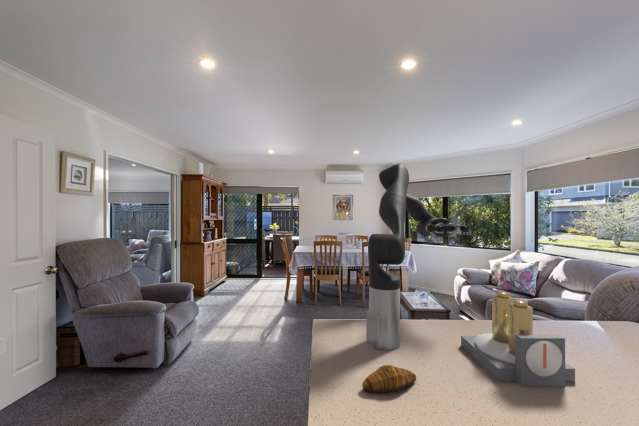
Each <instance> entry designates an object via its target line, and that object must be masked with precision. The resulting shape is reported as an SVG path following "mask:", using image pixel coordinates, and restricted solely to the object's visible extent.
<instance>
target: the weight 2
mask: <svg viewBox="0 0 639 426" xmlns="http://www.w3.org/2000/svg"><path fill="white" fill-rule="evenodd" d="M533 311H534V307H533V306H530V305H529V303H528V302H527V301H525V300H523V299H522V300H521V299H513V303H511V304H509V353H510V354H512V355H513V356H515V334H519V335H534V331H533V330H534V329H533V328H534V314H533V313H534V312H533Z"/></svg>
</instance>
